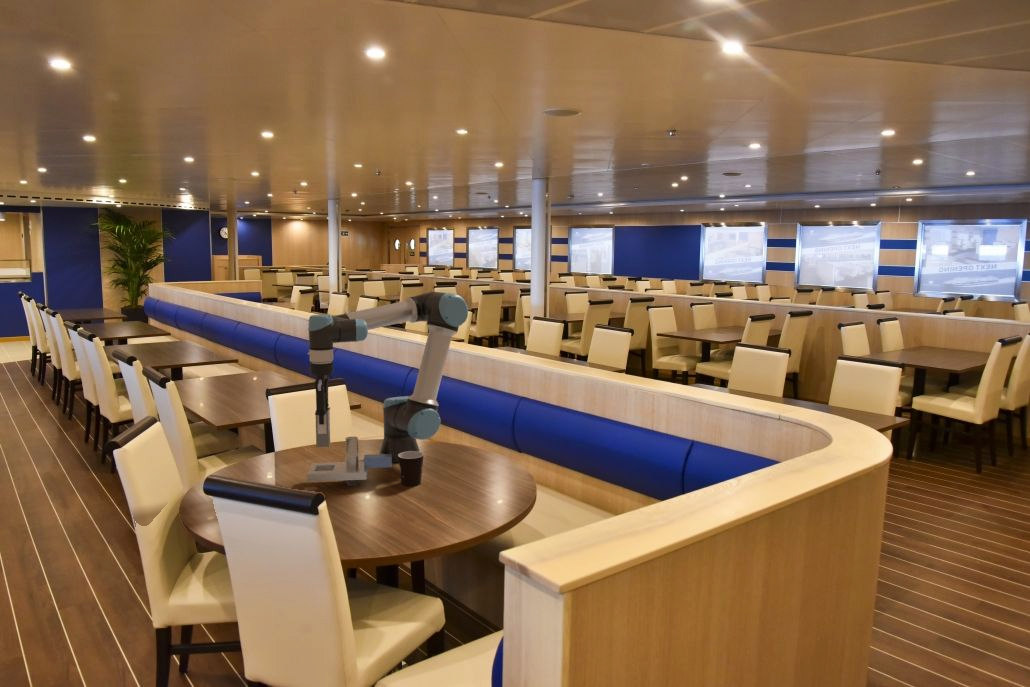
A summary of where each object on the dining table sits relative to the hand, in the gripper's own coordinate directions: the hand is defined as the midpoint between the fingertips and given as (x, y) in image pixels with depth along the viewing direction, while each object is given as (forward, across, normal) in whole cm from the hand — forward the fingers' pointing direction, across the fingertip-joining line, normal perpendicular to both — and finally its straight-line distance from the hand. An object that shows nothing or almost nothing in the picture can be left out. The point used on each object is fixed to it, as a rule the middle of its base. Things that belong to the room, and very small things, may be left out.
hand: (323, 431), depth 232 cm
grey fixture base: (+19, 0, +9) cm, 21 cm away
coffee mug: (+19, 0, +29) cm, 35 cm away
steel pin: (+5, 0, 0) cm, 5 cm away
